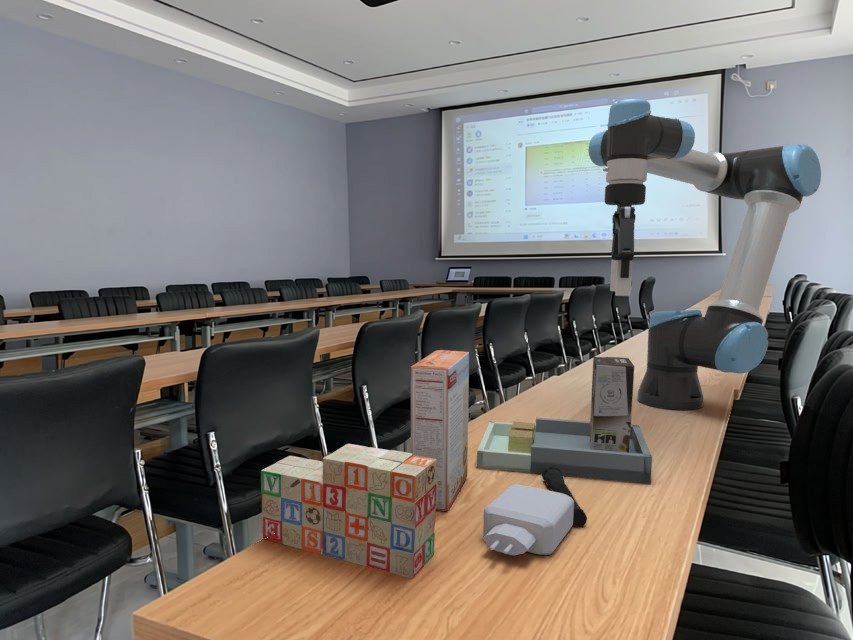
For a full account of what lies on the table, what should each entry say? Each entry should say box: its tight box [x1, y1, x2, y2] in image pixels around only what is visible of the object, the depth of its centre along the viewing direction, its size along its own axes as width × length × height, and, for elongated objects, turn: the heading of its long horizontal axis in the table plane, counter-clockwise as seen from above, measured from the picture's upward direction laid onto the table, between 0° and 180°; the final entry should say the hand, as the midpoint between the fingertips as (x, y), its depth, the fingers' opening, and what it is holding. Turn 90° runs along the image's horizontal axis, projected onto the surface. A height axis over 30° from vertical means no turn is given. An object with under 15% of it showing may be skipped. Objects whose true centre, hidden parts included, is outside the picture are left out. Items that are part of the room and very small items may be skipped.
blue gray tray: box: [529, 417, 653, 485], centre depth 108 cm, size 19×18×4 cm
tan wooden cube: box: [511, 421, 536, 445], centre depth 113 cm, size 4×4×4 cm
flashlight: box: [541, 466, 588, 528], centre depth 90 cm, size 3×16×3 cm, turn 0°
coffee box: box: [589, 356, 635, 453], centre depth 107 cm, size 9×6×16 cm
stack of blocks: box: [260, 443, 437, 579], centre depth 75 cm, size 21×6×12 cm, turn 66°
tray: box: [476, 421, 536, 474], centre depth 111 cm, size 9×18×3 cm, turn 167°
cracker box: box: [410, 349, 470, 512], centre depth 92 cm, size 14×6×21 cm, turn 164°
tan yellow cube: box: [508, 429, 533, 453], centre depth 108 cm, size 4×4×4 cm
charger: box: [482, 483, 575, 556], centre depth 77 cm, size 5×9×15 cm
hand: (619, 293), depth 121 cm, fingers open, 13 cm apart
